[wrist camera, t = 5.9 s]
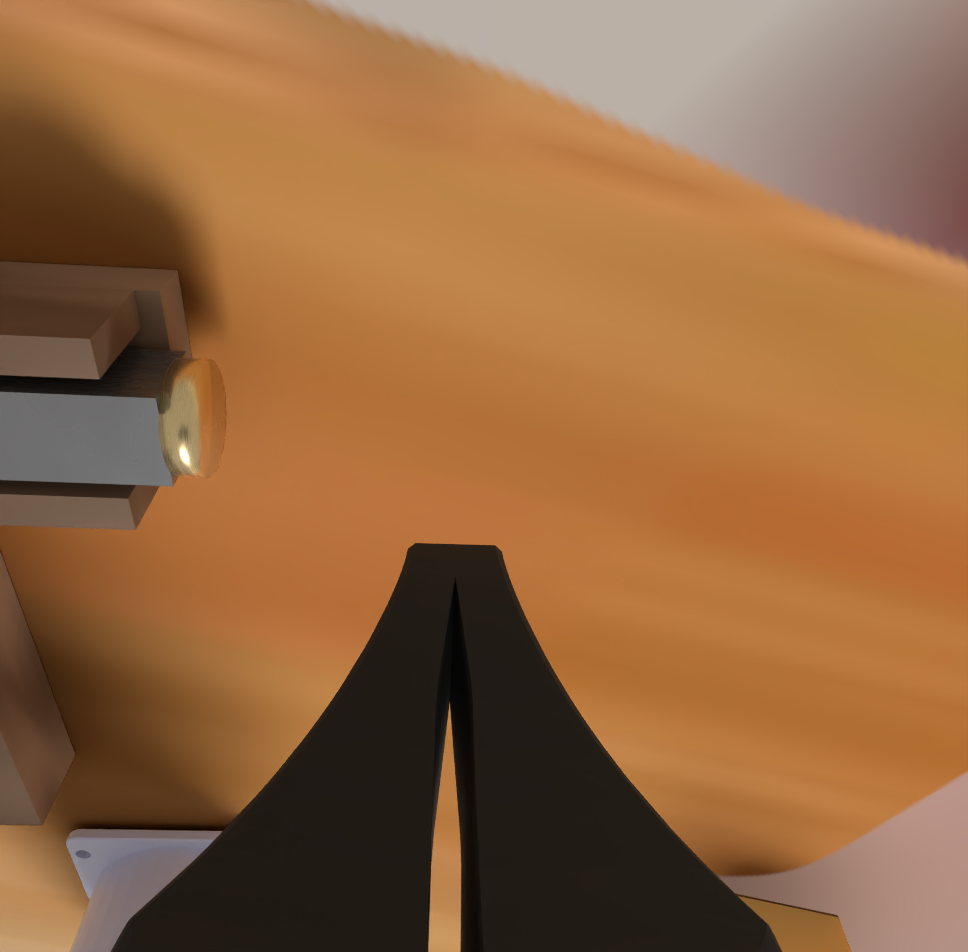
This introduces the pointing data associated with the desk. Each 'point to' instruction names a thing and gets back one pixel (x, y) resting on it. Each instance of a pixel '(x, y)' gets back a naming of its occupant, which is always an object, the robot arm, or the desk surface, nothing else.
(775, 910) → the rubber stamp
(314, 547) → the desk surface
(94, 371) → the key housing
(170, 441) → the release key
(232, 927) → the robot arm
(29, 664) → the socket block
